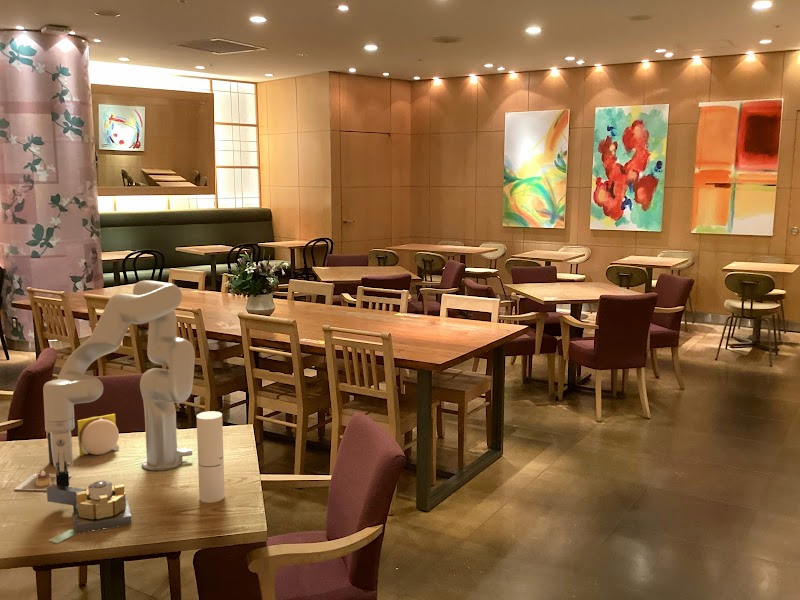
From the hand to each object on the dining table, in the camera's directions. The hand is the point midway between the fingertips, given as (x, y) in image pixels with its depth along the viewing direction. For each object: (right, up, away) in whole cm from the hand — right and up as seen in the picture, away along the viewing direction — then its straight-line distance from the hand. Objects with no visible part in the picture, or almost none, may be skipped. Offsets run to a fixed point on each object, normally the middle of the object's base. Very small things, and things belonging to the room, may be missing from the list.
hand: (62, 486), depth 212 cm
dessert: (-12, -3, +15) cm, 19 cm away
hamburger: (-5, +1, +39) cm, 40 cm away
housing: (+12, -7, -11) cm, 18 cm away
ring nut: (+9, -4, -7) cm, 12 cm away
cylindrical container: (+41, -5, +6) cm, 42 cm away
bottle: (-15, 0, +31) cm, 34 cm away
